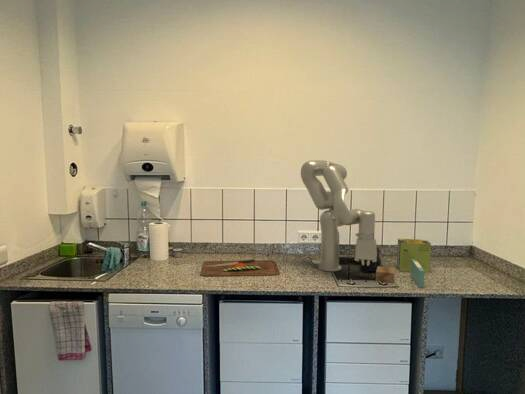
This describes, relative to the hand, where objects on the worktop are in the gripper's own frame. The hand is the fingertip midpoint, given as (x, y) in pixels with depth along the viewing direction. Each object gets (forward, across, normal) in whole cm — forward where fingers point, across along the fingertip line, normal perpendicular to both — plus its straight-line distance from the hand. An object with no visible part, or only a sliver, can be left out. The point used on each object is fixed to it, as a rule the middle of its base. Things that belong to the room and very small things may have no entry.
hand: (365, 272), depth 197 cm
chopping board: (+3, -64, +3) cm, 65 cm away
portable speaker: (+3, +5, +21) cm, 22 cm away
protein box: (+3, +26, +21) cm, 34 cm away
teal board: (+3, +25, 0) cm, 25 cm away
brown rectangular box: (+3, +10, 0) cm, 10 cm away
